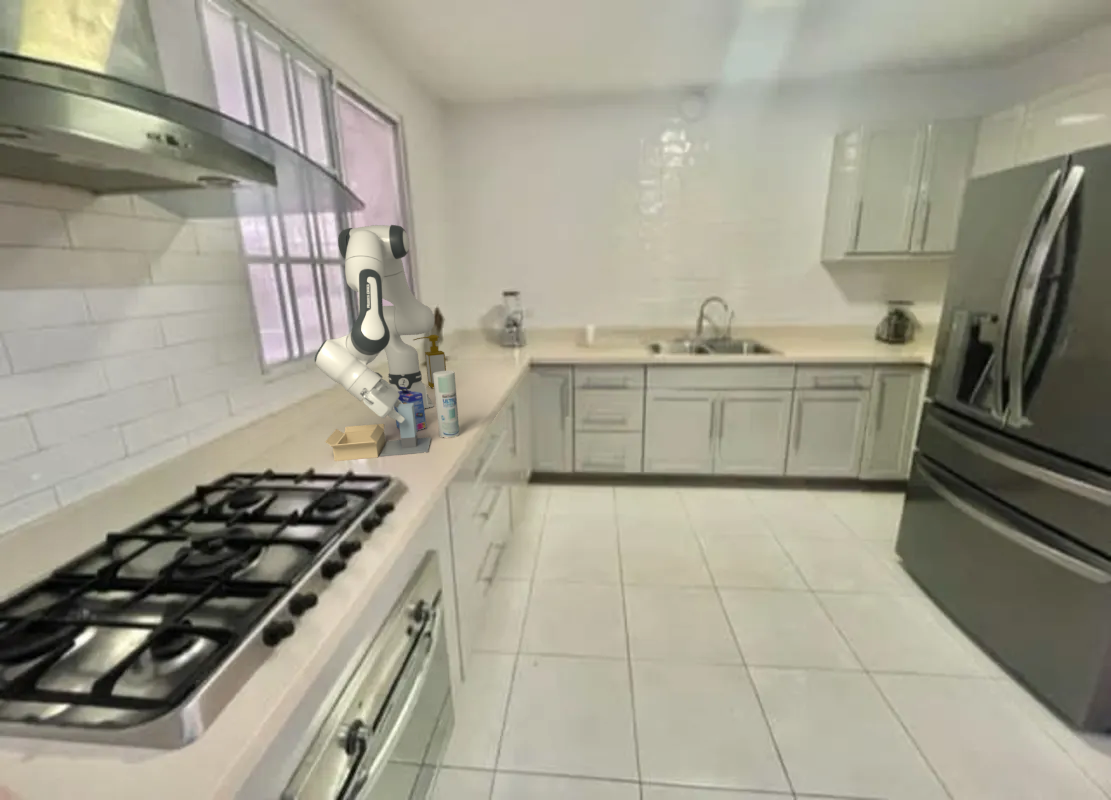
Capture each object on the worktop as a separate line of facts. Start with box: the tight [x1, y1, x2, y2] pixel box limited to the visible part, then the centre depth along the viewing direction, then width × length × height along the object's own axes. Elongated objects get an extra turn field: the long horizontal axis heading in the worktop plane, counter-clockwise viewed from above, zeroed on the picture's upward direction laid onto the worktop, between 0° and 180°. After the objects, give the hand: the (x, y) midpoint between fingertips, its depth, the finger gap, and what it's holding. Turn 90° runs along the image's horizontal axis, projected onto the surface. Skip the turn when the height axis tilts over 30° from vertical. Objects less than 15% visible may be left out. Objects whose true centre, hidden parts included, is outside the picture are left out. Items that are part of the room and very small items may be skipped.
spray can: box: [433, 370, 460, 438], centre depth 167 cm, size 6×6×20 cm
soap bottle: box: [412, 334, 447, 388], centre depth 243 cm, size 7×13×24 cm, turn 115°
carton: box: [324, 423, 386, 462], centre depth 157 cm, size 19×14×6 cm
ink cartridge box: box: [394, 386, 427, 432], centre depth 178 cm, size 10×6×14 cm, turn 51°
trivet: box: [379, 436, 432, 457], centre depth 159 cm, size 13×13×1 cm
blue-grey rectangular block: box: [397, 403, 418, 448], centre depth 158 cm, size 5×4×12 cm
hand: (405, 416), depth 157 cm, fingers open, 8 cm apart
